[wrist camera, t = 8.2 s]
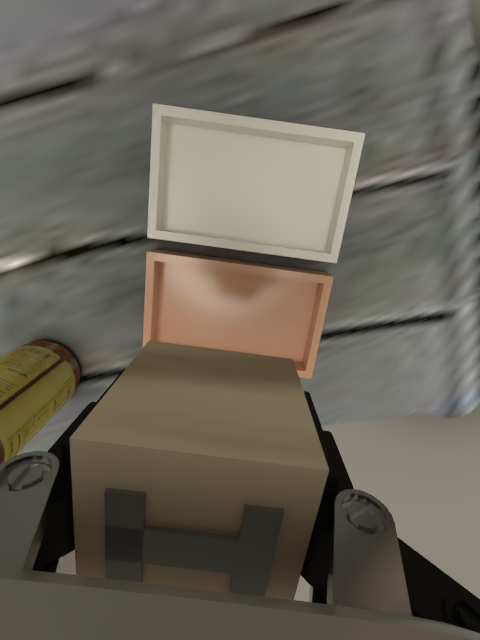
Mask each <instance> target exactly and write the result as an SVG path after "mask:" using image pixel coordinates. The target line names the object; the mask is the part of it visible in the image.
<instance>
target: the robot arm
mask: <svg viewBox="0 0 480 640" xmlns="http://www.w3.org/2000/svg"><path fill="white" fill-rule="evenodd" d="M124 371H125V369H124V370H123V371H122V372H121V373H120V374H119V376H118V377H117V378H116V379H115V380H114V382H113V383H112V384H111V385H110V386H109V388H108V389H107V390H106V391H105V392H104V394H103V395H102V396H101V397H100V398H99V400H98V401H97V402H91V403H90V404H88V405H87V407H86V408H85V409H84V410H83V411H82V412H81V413H80V415H79V416H78V417H77V418H76V419H75V420H74V422H73V423H72V424H71V425H70V426H69V427H68V429H67V430H66V431H65V432H64V433H63V434H62V435H61V437H60V438H59V439H58V440H57V441H56V442H55V444H54V445H53V446H52V447H51V448H50V449H49V450H48V452H45V451H33V452H27V453H23V454H20V455H17V456H15V457H13V458H11V459H9V460H7V461H5V462H4V463H2V464H1V465H0V640H480V599H479V598H477V597H476V596H475V595H473V594H472V593H471V592H469V591H468V590H467V589H465V588H464V587H463V586H461V585H460V584H459V583H457V582H456V581H455V580H453V579H452V578H451V577H449V576H448V575H447V574H445V573H444V572H443V571H441V570H440V569H439V568H437V567H436V566H435V565H434V564H432V563H431V562H430V561H428V560H427V559H426V558H424V557H423V556H422V555H420V554H419V553H418V552H416V551H415V550H414V549H412V548H411V547H410V546H408V545H407V544H406V543H404V542H403V541H402V540H400V539H399V538H398V537H397V533H396V527H395V523H394V520H393V517H392V515H391V513H390V512H389V510H388V509H387V507H385V505H384V504H383V503H381V502H380V501H379V500H378V499H377V498H375V497H374V496H372V495H370V494H368V493H366V492H364V491H361V490H356V489H354V488H353V486H352V483H351V481H350V478H349V476H348V473H347V470H346V468H345V465H344V463H343V461H342V458H341V455H340V453H339V451H338V448H337V445H336V443H335V440H334V438H333V435H332V434H331V432H329V431H323V430H322V427H321V424H320V421H319V418H318V416H317V413H316V410H315V407H314V405H313V402H312V399H311V396H310V393H309V392H305V391H304V394H305V397H306V401H307V404H308V407H309V410H310V413H311V416H312V419H313V422H314V425H315V428H316V431H317V434H318V437H319V440H320V443H321V446H322V449H323V453H324V456H325V459H326V462H327V465H328V468H329V473H328V476H327V480H326V483H325V487H324V491H323V494H322V498H321V502H320V505H319V509H318V513H317V516H316V520H315V523H314V527H313V531H312V534H311V538H310V542H309V545H308V549H307V553H306V556H305V560H304V564H303V567H302V571H301V574H300V575H302V577H303V578H304V579H305V580H306V581H307V582H308V583H309V584H310V585H311V586H310V594H309V602H304V601H296V600H288V599H280V598H271V597H263V596H255V595H247V594H238V593H230V592H221V591H212V590H204V589H195V588H186V587H178V586H169V585H160V584H151V583H143V582H134V581H125V580H116V579H107V578H98V577H89V576H80V575H70V574H61V570H62V566H63V562H64V555H66V554H68V553H69V552H71V551H73V550H74V549H75V538H74V518H73V498H72V477H71V457H70V437H71V436H72V435H73V433H74V432H75V431H76V430H77V428H78V427H79V426H80V425H81V424H82V422H83V421H84V420H85V419H86V417H87V416H88V415H89V414H90V412H91V411H92V410H93V409H94V408H95V406H96V405H97V404H98V403H99V401H100V400H101V399H102V398H103V396H104V395H105V394H106V393H107V392H108V390H109V389H110V388H111V387H112V385H113V384H114V383H115V382H116V380H117V379H118V378H119V377H120V376H121V374H122V373H123V372H124Z"/></svg>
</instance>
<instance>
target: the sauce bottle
mask: <svg viewBox="0 0 480 640" xmlns="http://www.w3.org/2000/svg"><path fill="white" fill-rule="evenodd" d="M80 377H81V371H80V368H79V365H78V363H77V361H76V360H75V358H74V357H73V355H72V353H71V352H70V351H69V350H67V349H66V348H65V347H63V346H61V345H59V344H56V343H53V342H51V341H45V340H39V341H35V342H31V343H28V344H26V345H24V346H22V347H19V348H16V349H14V350H13V351H11V352H9V353H7V354H6V355H4V356H2V357H1V358H0V465H1V464H2V463H4V462H5V461H7V460H9V459H11V458H13V457H15V456H16V455H17V454H18V453H19V452H20V451H21V450H22V449H23V447H24V446H25V445H26V444H27V443H28V442H29V441H30V440H31V439H32V438H33V437H34V436H35V435H36V434H37V433H38V432H39V430H40V429H41V428H42V427H43V426H44V425H45V424H46V423H47V422H48V421H49V420H50V419H51V418H52V417H53V416H54V415H55V414H56V413H57V411H58V410H59V409H60V408H61V407H62V406H63V405H64V404H65V403H66V402H67V401H68V400H69V399H70V397H71V396H72V395H73V392H74V390H75V389H76V387H77V386H78V383H79V380H80Z"/></svg>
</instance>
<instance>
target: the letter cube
mask: <svg viewBox="0 0 480 640" xmlns="http://www.w3.org/2000/svg"><path fill="white" fill-rule="evenodd" d="M70 457H71V477H72V498H73V518H74V538H75V559H76V575H80V576H89V577H98V578H107V579H116V580H125V581H134V582H143V583H151V584H160V585H169V586H178V587H186V588H195V589H204V590H212V591H221V592H230V593H238V594H247V595H255V596H263V597H271V598H280V599H288V600H294V596H295V593H296V589H297V585H298V582H299V578H300V574H301V571H302V567H303V564H304V560H305V556H306V553H307V549H308V545H309V542H310V538H311V534H312V531H313V527H314V523H315V520H316V516H317V513H318V509H319V505H320V502H321V498H322V494H323V491H324V487H325V483H326V480H327V476H328V473H329V468H328V465H327V462H326V459H325V456H324V453H323V449H322V446H321V443H320V440H319V437H318V434H317V431H316V428H315V425H314V422H313V419H312V416H311V413H310V410H309V407H308V404H307V401H306V397H305V394H304V391H303V388H302V385H301V382H300V379H299V376H298V373H297V370H296V367H295V364H294V361H293V359H289V358H281V357H273V356H266V355H258V354H250V353H242V352H235V351H227V350H219V349H211V348H204V347H196V346H188V345H180V344H172V343H165V342H157V341H148V342H147V344H146V345H145V346H144V347H143V348H142V350H141V351H140V352H139V353H138V355H137V356H136V357H135V358H134V360H133V361H132V362H131V363H130V364H129V366H128V367H127V368H126V369H125V371H124V372H123V373H122V374H121V376H120V377H119V378H118V379H117V380H116V382H115V383H114V384H113V385H112V387H111V388H110V389H109V390H108V392H107V393H106V394H105V395H104V396H103V398H102V399H101V400H100V401H99V403H98V404H97V405H96V406H95V408H94V409H93V410H92V411H91V412H90V414H89V415H88V416H87V417H86V419H85V420H84V421H83V422H82V424H81V425H80V426H79V427H78V428H77V430H76V431H75V432H74V433H73V435H72V436H71V437H70Z"/></svg>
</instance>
